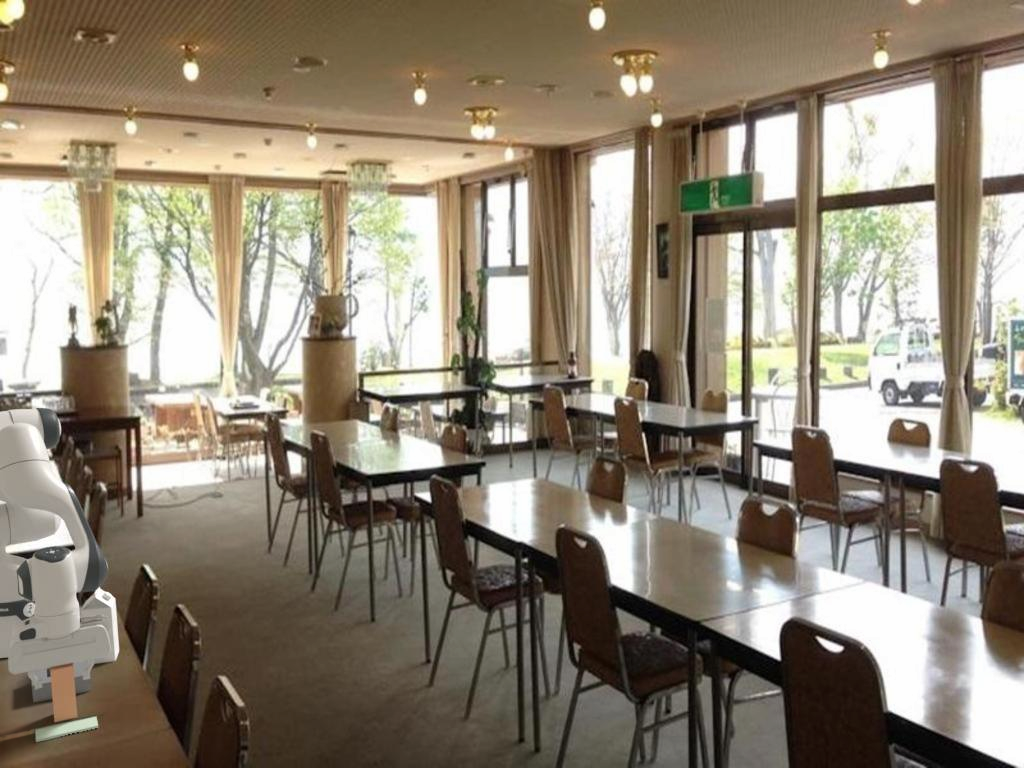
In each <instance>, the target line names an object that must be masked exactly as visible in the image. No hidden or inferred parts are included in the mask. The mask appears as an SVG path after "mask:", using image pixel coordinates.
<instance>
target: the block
mask: <svg viewBox="0 0 1024 768" xmlns="http://www.w3.org/2000/svg"><path fill="white" fill-rule="evenodd" d="M50 674H51V686H52V699H51V700H52V706H53V708H52V709H53V718H54V719H53V721H54V723H55V724H57V723H60V722H66V721H69V720H75V719H78V709H77V696H76V695H77V694H76V693H75V681H74V668H73V663H70V664H65V665H60V666H55V667H50Z"/></svg>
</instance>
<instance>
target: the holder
mask: <svg viewBox="0 0 1024 768" xmlns="http://www.w3.org/2000/svg"><path fill="white" fill-rule="evenodd" d="M87 666H88V663H87V660H86V661H81V662H76V663H73V668H74V681H75V693H76V695H78V694H82V693H88V692H90V691H92V685H91V678H90V679H86V680H83V676H82V675H83V674H82V670H85V669H86V668H87ZM35 676H36V678H37V679H40V678H42V688H41V689H37V690H35V684H34V682H33V681H32V680H31V691H32V703H33V704H34V703H40V702H45V701H49V700H53V699H52V686H51V674H50V668H45V669H40V670H35Z"/></svg>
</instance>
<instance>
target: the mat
mask: <svg viewBox="0 0 1024 768" xmlns="http://www.w3.org/2000/svg"><path fill="white" fill-rule="evenodd" d="M74 719H75V720H74ZM74 719H69V720H65V721H66V722H65V721H60V722H56V723H57V724H56V723H52V724H49V725H44V726H39V727H35V729H34V730H35V731H34V732H35V742H36V743H39V742H43V741H49V740H52V739H57V738H62V737H66V736H69V735H68V734H70V735H73V734H72V733H75V734H78V733H77V732H79V733H83V731H84V732H88V731H91V729H92V730H95V728H97V729H99V723H98V722H99V721H98V717H97V714H93V715H89V716H84V717H79V718H74ZM87 730H88V731H87ZM65 735H66V736H65ZM61 736H62V737H61Z"/></svg>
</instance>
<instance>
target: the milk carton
mask: <svg viewBox="0 0 1024 768" xmlns="http://www.w3.org/2000/svg"><path fill="white" fill-rule="evenodd" d="M116 601H117V600H116V597H114V596H113V595H112V593H110V592H108V591H105V590H103V589H102V588H101V586H100V587H99V588H98V589H97V590H95V591H94V593H93V594H92V595H91V596H90V597H89V598H88V599H87V600H86V601H84V602H85V603H84V604H83V605H82V607H81V610H80V618H86V617H94V616H97V615H102V616H105V617H107V618H109V620H110V624H111V629H110V631H109V633H108V636H109V640H110V646H111V652H110V654H109V655H108V656H106V657H101V658H96V659H94V665H95V664H102V663H111V662H116V661H117V659H118V655H119V653H120V643H119V632H118V630H119V629H118V617H117V615H118V614H117V604H116V603H117V602H116ZM103 619H105V618H103Z"/></svg>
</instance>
